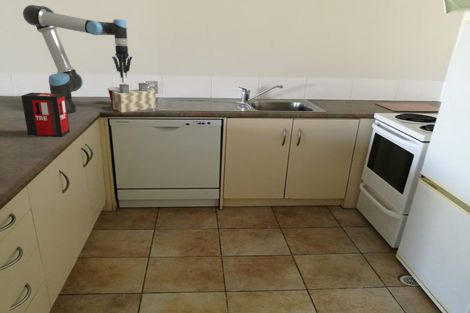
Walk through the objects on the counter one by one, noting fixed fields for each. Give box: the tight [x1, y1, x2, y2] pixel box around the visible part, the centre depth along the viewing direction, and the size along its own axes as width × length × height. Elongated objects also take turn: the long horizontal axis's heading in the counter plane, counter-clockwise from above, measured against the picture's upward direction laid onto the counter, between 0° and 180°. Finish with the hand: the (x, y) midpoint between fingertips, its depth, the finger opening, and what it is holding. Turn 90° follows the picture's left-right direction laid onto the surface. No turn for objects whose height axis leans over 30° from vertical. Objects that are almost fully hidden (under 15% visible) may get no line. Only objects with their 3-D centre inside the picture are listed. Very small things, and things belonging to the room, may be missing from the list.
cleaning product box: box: [20, 92, 71, 138], centre depth 167 cm, size 16×9×20 cm, turn 92°
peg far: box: [138, 82, 149, 91], centre depth 234 cm, size 4×4×9 cm
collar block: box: [112, 88, 157, 113], centre depth 231 cm, size 26×12×12 cm, turn 134°
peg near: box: [118, 83, 130, 93], centre depth 225 cm, size 4×4×9 cm
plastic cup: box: [106, 86, 120, 106], centre depth 240 cm, size 11×11×12 cm
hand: (123, 82), depth 223 cm, fingers closed
